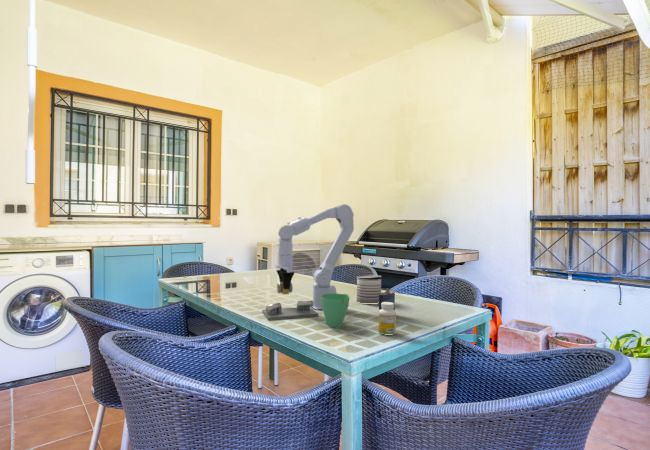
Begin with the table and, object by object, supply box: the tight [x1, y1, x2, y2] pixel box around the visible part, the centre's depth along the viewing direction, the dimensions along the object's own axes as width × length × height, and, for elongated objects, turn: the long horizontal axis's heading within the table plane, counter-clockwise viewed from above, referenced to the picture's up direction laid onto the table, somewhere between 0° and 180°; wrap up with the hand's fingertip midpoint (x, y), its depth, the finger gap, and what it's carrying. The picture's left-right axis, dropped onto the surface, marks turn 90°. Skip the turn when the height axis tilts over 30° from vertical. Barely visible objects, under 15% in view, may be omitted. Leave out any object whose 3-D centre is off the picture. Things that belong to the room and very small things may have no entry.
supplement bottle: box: [378, 302, 397, 335], centre depth 115 cm, size 5×5×10 cm
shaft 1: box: [265, 302, 282, 315], centre depth 134 cm, size 6×4×3 cm, turn 145°
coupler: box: [276, 282, 293, 295], centre depth 147 cm, size 6×4×4 cm
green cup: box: [321, 293, 350, 328], centre depth 125 cm, size 15×10×10 cm
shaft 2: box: [296, 300, 313, 311], centre depth 141 cm, size 6×4×3 cm, turn 110°
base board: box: [261, 306, 320, 321], centre depth 137 cm, size 19×12×1 cm, turn 110°
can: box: [355, 275, 382, 304], centre depth 161 cm, size 11×11×12 cm
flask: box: [378, 288, 396, 311], centre depth 136 cm, size 9×3×11 cm, turn 138°
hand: (285, 287), depth 147 cm, fingers closed on coupler, 4 cm apart
